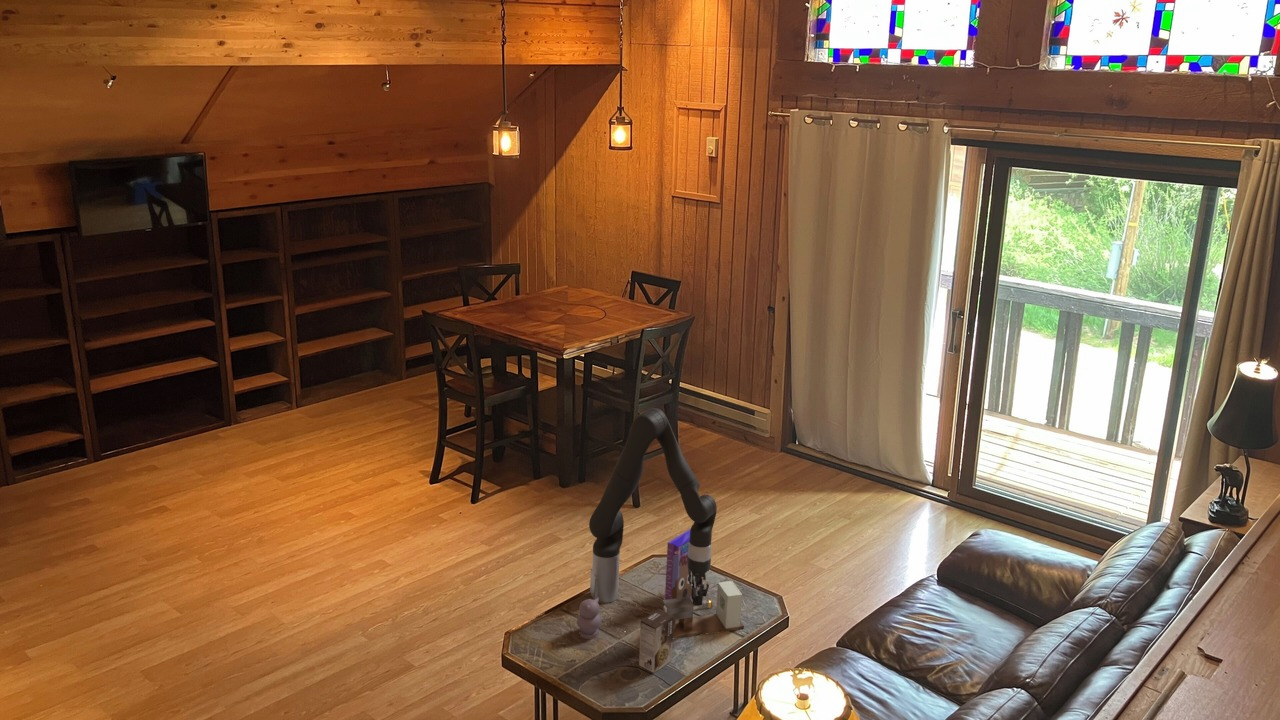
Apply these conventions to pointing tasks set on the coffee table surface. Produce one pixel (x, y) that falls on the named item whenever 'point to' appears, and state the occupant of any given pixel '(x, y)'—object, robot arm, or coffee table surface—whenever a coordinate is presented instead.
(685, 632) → the board
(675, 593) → the cereal box
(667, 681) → the coffee table surface
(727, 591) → the socket block
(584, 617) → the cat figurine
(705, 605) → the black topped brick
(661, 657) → the coffee box
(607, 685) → the coffee table surface
